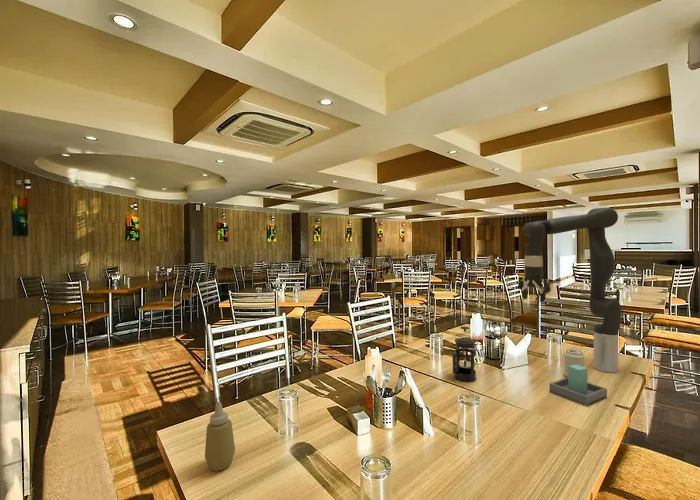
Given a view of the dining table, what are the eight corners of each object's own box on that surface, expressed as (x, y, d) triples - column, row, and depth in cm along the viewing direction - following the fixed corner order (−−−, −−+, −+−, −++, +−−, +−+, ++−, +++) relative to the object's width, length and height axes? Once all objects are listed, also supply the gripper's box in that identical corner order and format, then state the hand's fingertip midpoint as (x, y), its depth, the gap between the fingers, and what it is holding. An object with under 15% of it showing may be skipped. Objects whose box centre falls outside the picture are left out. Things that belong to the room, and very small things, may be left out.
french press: (466, 372, 161) (466, 323, 160) (482, 379, 152) (482, 327, 152) (446, 376, 156) (446, 326, 155) (461, 384, 148) (461, 331, 147)
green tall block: (576, 388, 140) (576, 364, 139) (587, 393, 135) (587, 368, 135) (568, 390, 138) (568, 365, 138) (578, 395, 134) (578, 370, 134)
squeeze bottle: (210, 457, 101) (208, 396, 101) (238, 455, 102) (236, 395, 101) (200, 476, 93) (198, 410, 93) (231, 473, 94) (229, 408, 93)
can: (578, 374, 156) (578, 348, 156) (588, 381, 149) (588, 353, 149) (561, 373, 157) (561, 347, 157) (569, 380, 150) (570, 353, 149)
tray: (569, 384, 146) (569, 376, 146) (606, 397, 134) (607, 388, 134) (549, 391, 140) (549, 383, 139) (586, 406, 127) (587, 397, 127)
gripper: (553, 265, 155) (553, 301, 156) (524, 264, 168) (524, 297, 168) (543, 266, 152) (543, 303, 152) (514, 264, 164) (514, 298, 165)
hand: (533, 300), depth 160 cm, fingers open, 8 cm apart
